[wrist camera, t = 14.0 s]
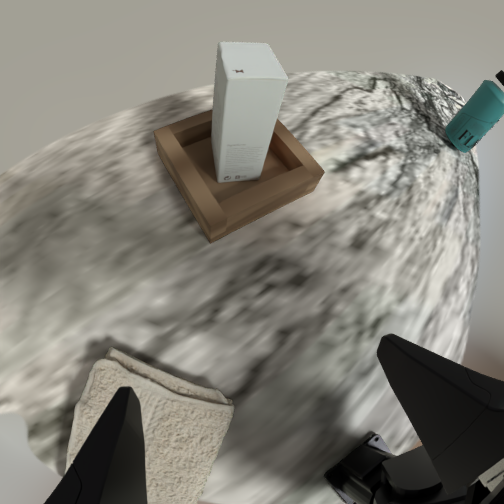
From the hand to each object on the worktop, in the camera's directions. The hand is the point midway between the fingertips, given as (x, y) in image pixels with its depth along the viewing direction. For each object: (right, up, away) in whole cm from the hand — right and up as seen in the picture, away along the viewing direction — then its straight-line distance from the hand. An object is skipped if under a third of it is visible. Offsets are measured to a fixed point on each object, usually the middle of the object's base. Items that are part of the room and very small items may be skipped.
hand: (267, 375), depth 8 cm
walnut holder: (-2, +12, +19) cm, 23 cm away
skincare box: (-2, +13, +18) cm, 23 cm away
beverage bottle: (+37, +24, +30) cm, 53 cm away
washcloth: (-10, -13, +9) cm, 19 cm away
